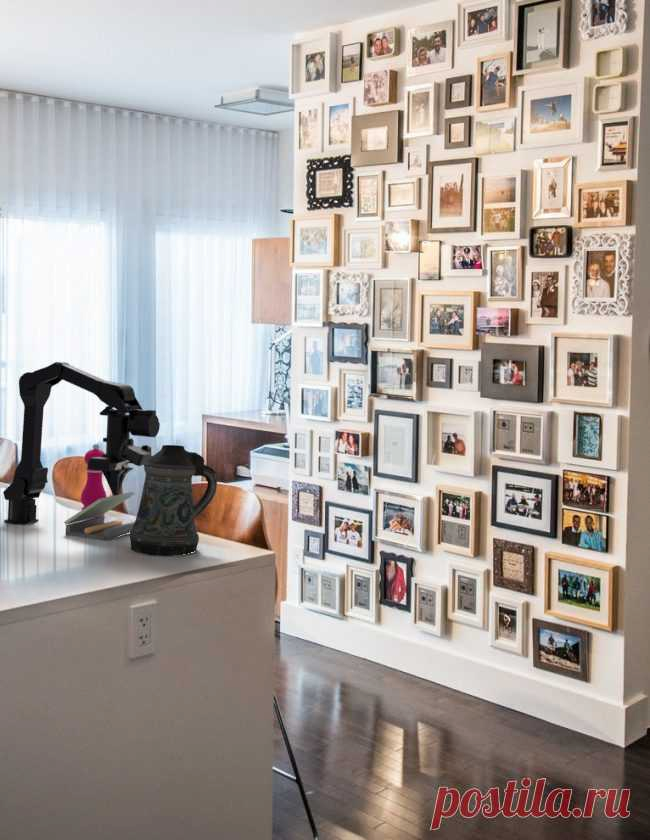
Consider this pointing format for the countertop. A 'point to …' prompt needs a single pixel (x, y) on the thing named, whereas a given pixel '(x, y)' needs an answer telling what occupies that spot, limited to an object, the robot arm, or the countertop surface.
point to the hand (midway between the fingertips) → (115, 495)
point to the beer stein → (170, 503)
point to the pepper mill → (93, 480)
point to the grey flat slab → (98, 528)
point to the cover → (99, 507)
